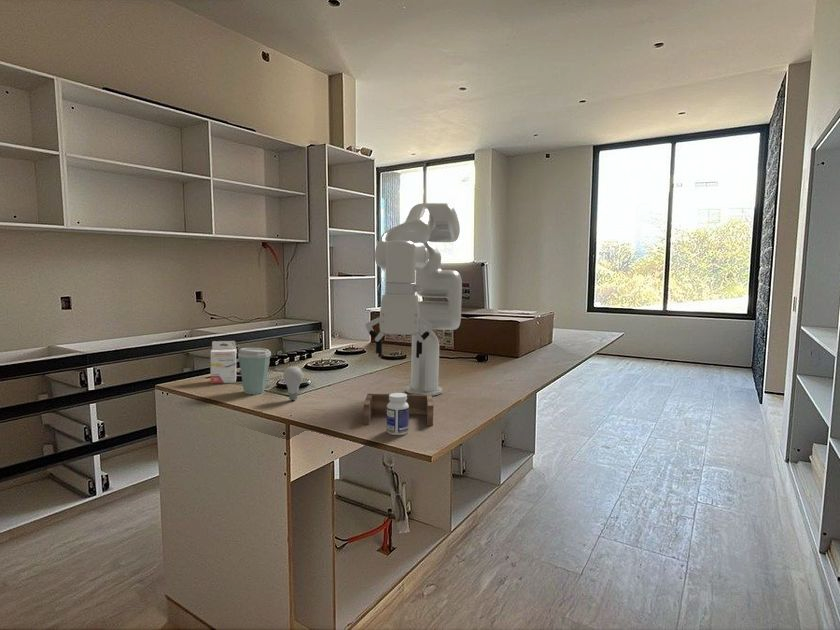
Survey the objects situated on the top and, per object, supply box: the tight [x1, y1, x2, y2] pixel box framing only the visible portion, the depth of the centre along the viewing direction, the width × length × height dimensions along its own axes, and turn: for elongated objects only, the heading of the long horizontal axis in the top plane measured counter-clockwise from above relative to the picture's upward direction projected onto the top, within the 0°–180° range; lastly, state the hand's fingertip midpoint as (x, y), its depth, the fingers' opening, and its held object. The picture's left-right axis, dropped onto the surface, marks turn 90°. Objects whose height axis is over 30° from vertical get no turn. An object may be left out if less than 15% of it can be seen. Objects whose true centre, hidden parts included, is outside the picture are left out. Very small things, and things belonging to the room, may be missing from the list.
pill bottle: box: [386, 392, 410, 436], centre depth 124 cm, size 6×6×10 cm
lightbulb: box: [282, 365, 304, 401], centre depth 151 cm, size 6×6×11 cm
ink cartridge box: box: [210, 340, 237, 385], centre depth 173 cm, size 9×5×15 cm, turn 108°
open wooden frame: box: [362, 393, 434, 426], centre depth 135 cm, size 12×19×6 cm, turn 91°
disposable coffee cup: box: [237, 347, 272, 395], centre depth 159 cm, size 11×11×15 cm
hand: (398, 356), depth 122 cm, fingers open, 9 cm apart
